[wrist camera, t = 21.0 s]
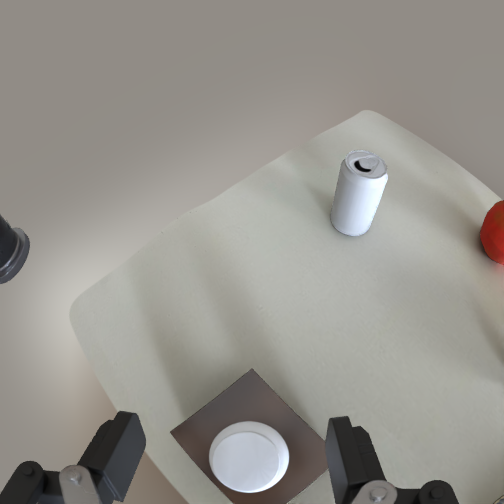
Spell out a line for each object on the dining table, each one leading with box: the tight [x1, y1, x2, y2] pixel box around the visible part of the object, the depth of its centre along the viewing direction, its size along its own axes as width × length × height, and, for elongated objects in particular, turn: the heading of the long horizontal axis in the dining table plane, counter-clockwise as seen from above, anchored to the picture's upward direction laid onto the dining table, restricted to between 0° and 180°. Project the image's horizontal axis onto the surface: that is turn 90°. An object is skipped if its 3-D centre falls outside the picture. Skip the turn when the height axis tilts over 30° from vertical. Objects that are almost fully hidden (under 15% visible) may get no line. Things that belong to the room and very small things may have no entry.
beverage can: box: [330, 150, 388, 236], centre depth 41 cm, size 6×6×12 cm
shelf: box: [170, 369, 328, 504], centre depth 26 cm, size 12×10×8 cm
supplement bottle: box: [209, 421, 289, 493], centre depth 19 cm, size 5×5×10 cm
